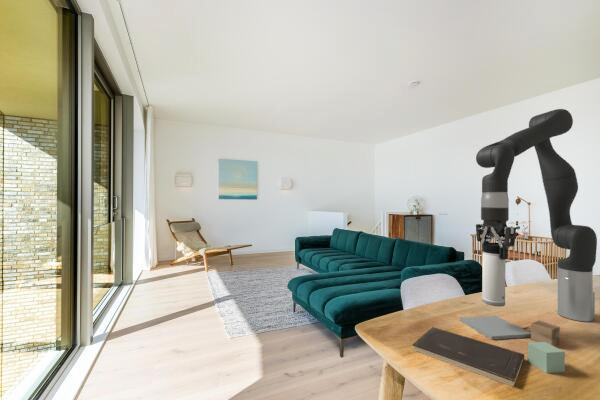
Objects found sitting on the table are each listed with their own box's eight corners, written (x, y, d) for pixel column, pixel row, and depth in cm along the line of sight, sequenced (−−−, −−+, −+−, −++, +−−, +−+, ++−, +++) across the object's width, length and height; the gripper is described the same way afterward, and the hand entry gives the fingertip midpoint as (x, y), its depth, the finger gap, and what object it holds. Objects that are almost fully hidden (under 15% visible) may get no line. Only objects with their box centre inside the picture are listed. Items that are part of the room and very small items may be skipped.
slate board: (495, 318, 102) (495, 315, 102) (532, 337, 88) (532, 333, 88) (459, 320, 100) (459, 317, 100) (491, 339, 86) (491, 336, 86)
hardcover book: (514, 390, 64) (514, 380, 64) (412, 352, 80) (412, 344, 80) (524, 361, 76) (524, 353, 76) (433, 333, 92) (433, 326, 92)
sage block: (545, 360, 75) (545, 341, 75) (564, 372, 70) (564, 351, 70) (527, 362, 75) (527, 342, 75) (546, 373, 70) (546, 352, 70)
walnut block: (539, 336, 89) (539, 320, 89) (559, 343, 84) (559, 326, 84) (530, 340, 87) (530, 323, 87) (551, 347, 82) (551, 330, 82)
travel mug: (510, 307, 91) (510, 244, 91) (487, 305, 92) (487, 243, 92) (500, 300, 97) (501, 241, 97) (479, 299, 98) (479, 240, 98)
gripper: (524, 206, 88) (524, 261, 88) (487, 206, 102) (487, 253, 102) (502, 206, 87) (502, 262, 87) (468, 205, 101) (468, 253, 101)
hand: (494, 257), depth 94 cm, fingers closed on travel mug, 6 cm apart
